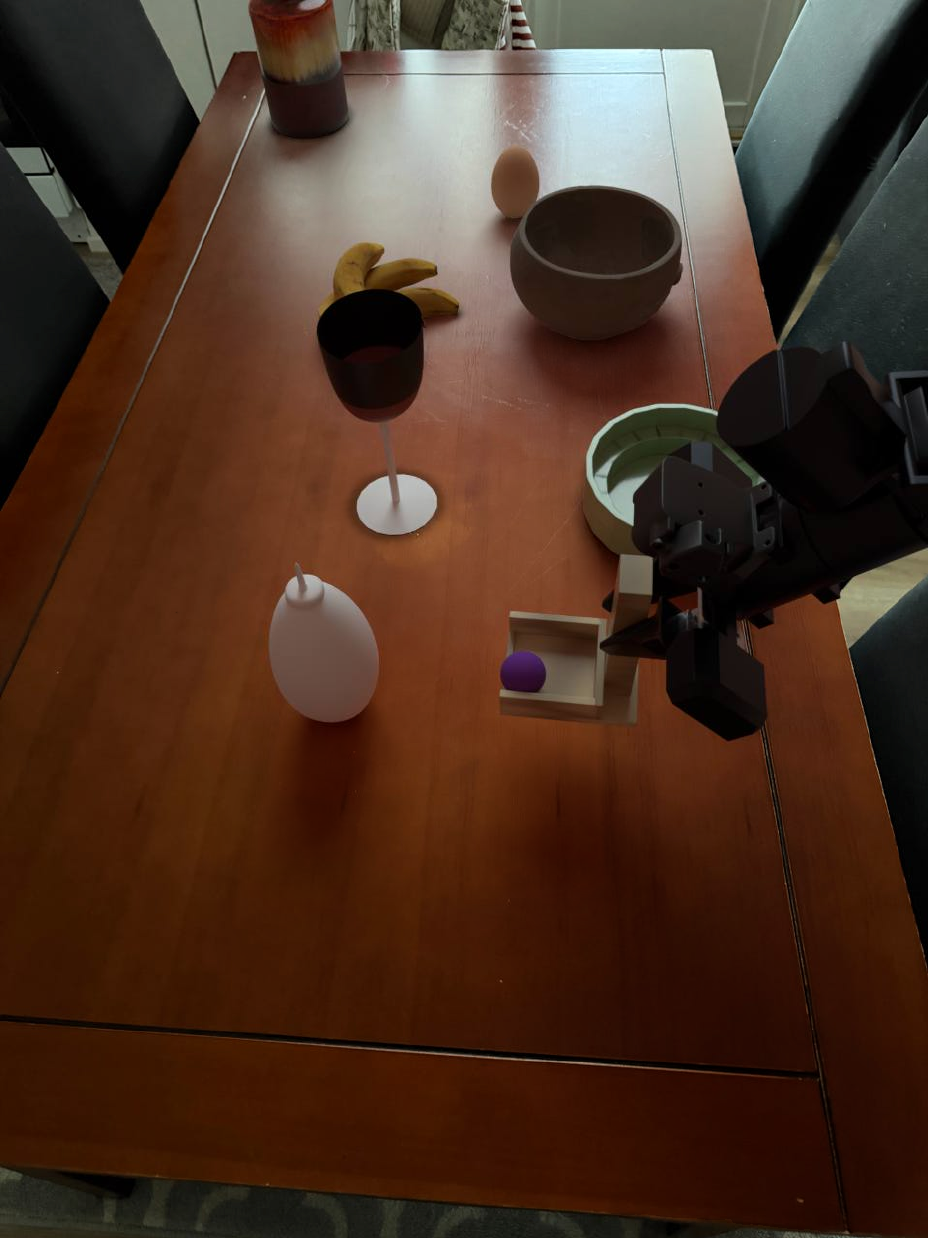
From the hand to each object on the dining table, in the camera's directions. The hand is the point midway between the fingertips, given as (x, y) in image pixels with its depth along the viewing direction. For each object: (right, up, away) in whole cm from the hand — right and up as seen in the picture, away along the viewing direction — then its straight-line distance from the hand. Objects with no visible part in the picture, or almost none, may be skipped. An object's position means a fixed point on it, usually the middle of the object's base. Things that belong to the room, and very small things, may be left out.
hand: (604, 628), depth 59 cm
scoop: (-2, -4, +6) cm, 7 cm away
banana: (-17, +33, +40) cm, 55 cm away
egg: (-3, +50, +51) cm, 71 cm away
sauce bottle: (-19, -6, +13) cm, 24 cm away
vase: (-31, +70, +67) cm, 102 cm away
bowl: (+5, +34, +40) cm, 53 cm away
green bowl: (+10, +11, +23) cm, 28 cm away
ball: (-5, -3, +3) cm, 7 cm away
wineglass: (-16, +11, +25) cm, 32 cm away
